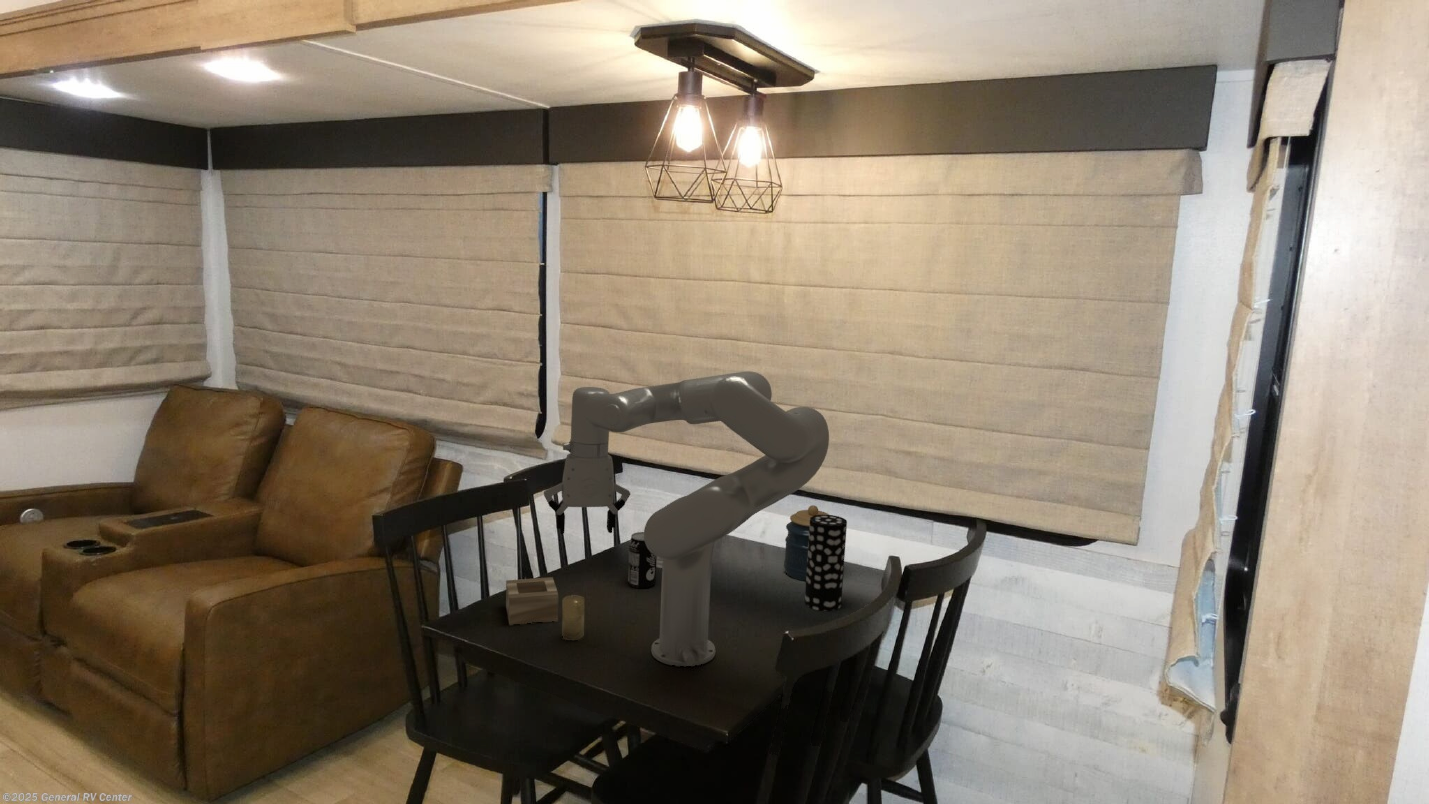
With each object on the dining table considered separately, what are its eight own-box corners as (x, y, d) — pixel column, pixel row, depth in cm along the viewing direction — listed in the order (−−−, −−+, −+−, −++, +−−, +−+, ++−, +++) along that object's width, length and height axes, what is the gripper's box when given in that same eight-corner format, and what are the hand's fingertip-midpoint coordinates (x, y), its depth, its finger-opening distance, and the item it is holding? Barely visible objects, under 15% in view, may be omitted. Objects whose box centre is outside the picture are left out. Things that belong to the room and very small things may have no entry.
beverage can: (657, 580, 204) (659, 532, 202) (653, 590, 198) (654, 541, 196) (631, 578, 205) (632, 530, 203) (625, 588, 199) (626, 539, 197)
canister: (834, 566, 219) (838, 500, 216) (835, 584, 207) (840, 514, 204) (784, 562, 221) (787, 496, 218) (782, 580, 208) (786, 511, 205)
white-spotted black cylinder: (813, 594, 200) (819, 512, 197) (846, 602, 196) (852, 519, 192) (798, 605, 193) (803, 520, 190) (832, 614, 189) (838, 528, 185)
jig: (557, 621, 179) (558, 594, 178) (509, 625, 176) (509, 598, 175) (552, 602, 188) (552, 577, 187) (506, 606, 185) (506, 580, 184)
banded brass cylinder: (585, 640, 170) (586, 602, 169) (563, 642, 169) (563, 604, 168) (582, 631, 175) (582, 594, 173) (560, 632, 173) (561, 595, 172)
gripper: (546, 453, 163) (543, 538, 166) (635, 454, 167) (630, 536, 170) (544, 444, 170) (541, 526, 173) (629, 445, 174) (625, 524, 177)
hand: (585, 531), depth 172 cm, fingers open, 9 cm apart
